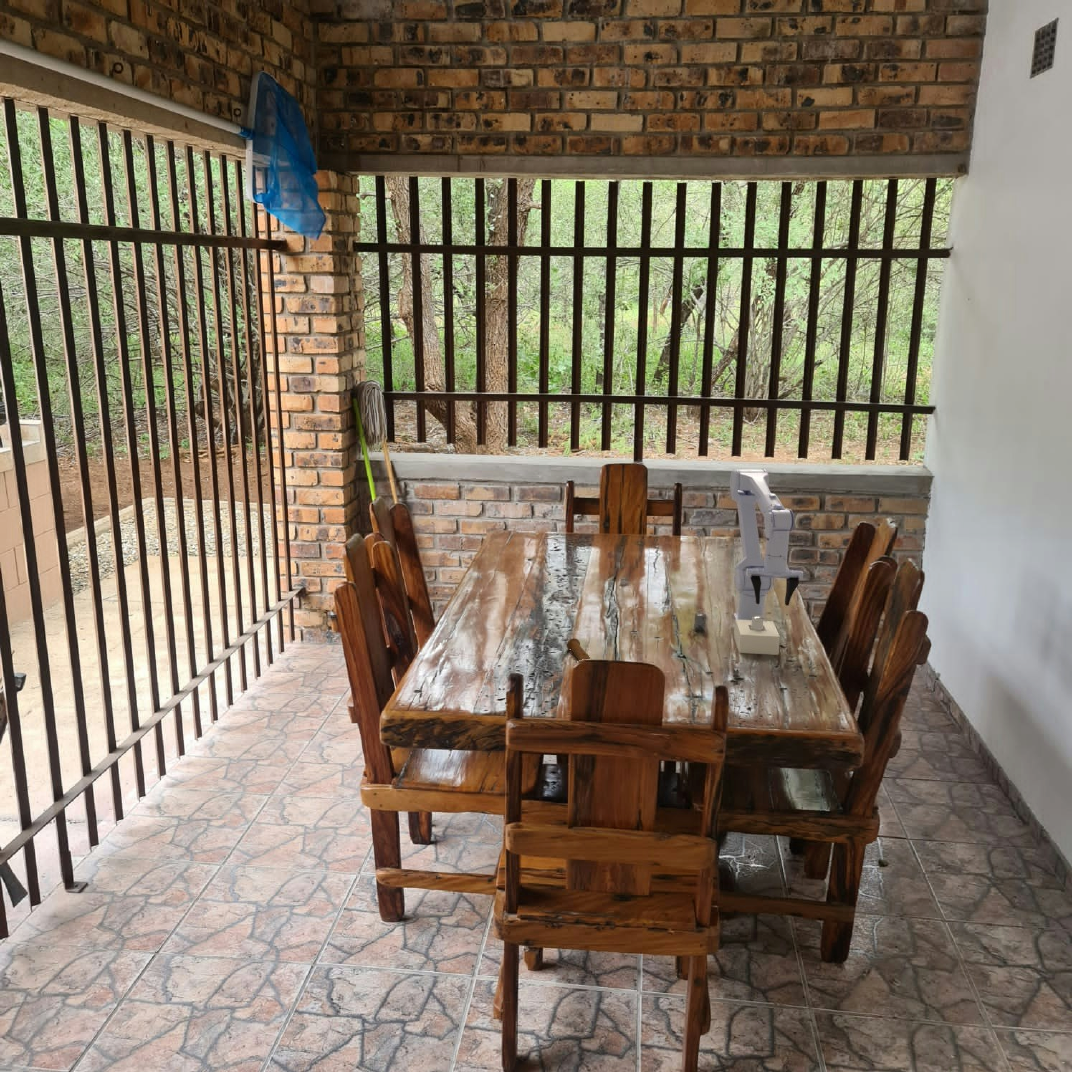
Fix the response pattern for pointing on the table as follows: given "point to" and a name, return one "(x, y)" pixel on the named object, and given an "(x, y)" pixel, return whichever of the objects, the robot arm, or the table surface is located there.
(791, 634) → the table surface
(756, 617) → the long pin
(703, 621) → the short pin
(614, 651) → the table surface
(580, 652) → the primitive tool
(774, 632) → the hole block
